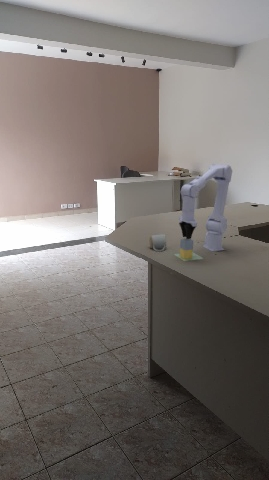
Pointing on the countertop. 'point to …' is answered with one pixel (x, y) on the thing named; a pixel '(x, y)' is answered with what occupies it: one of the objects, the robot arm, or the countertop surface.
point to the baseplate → (194, 257)
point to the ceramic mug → (158, 242)
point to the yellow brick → (186, 254)
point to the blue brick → (186, 244)
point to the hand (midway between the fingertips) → (186, 237)
